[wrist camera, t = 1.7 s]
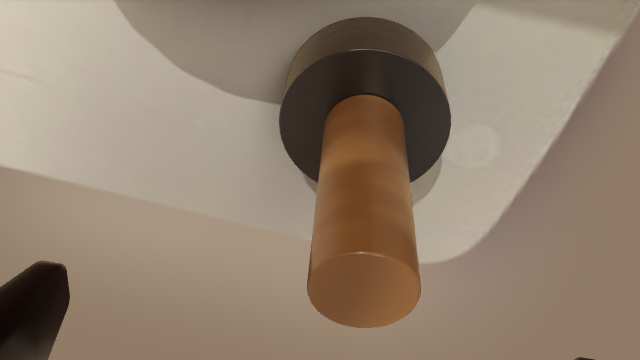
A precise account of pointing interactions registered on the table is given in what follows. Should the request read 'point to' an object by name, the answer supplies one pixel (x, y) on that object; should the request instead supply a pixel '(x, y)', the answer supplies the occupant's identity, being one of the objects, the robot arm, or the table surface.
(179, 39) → the table surface
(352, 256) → the coffee tamper
